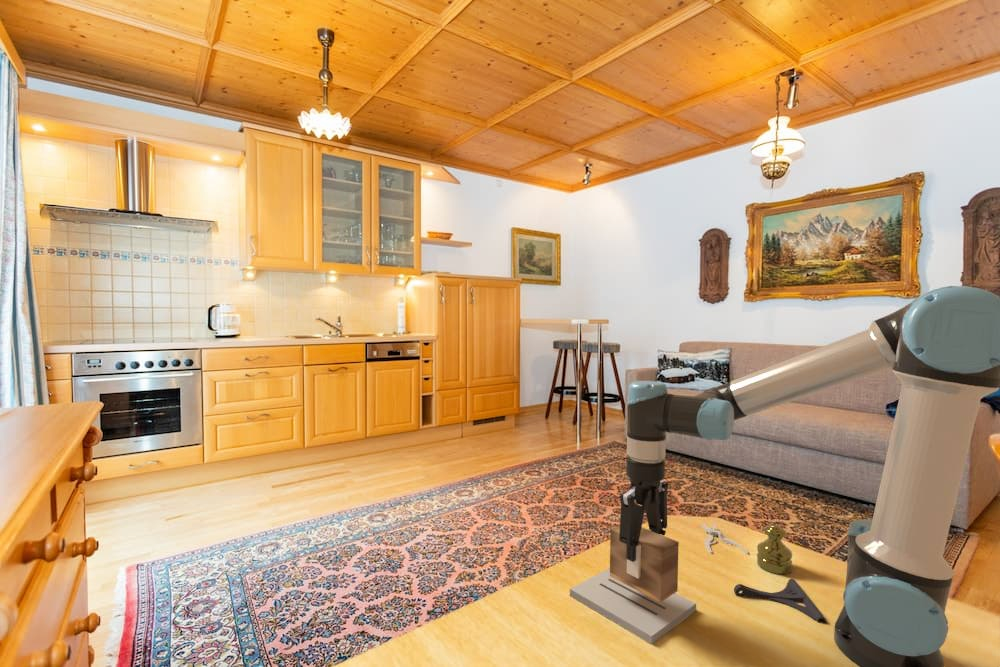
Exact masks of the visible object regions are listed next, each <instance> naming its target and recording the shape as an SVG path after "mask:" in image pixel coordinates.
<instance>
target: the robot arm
mask: <svg viewBox="0 0 1000 667" xmlns="http://www.w3.org/2000/svg"><path fill="white" fill-rule="evenodd" d="M888 370H892V373H893V375H895V376H896V378H897V379H898V380H899V381H900V383H901V388H900V394H899V398H898V402H897V406H896V411H895V415H894V421H893V426H892V428H891V429H892V430H891V434H890V439H889V443H888V448H887V453H886V456H885V460H884V466H883V470H882V476H881V480H880V485H879V490H878V493H877V498H876V502H875V507H874V510H873V511H874V512H873V516H872V519H864V518H863V519H862V518H861V519H854V520H852V521H850V522H849V526H848V531H847V532H846V534H847V537H848V538H847V539H848V541H847V542H848V544H847V545H848V546H847V562H846V563H847V565H846V575H845V577H846V578H845V586H844V591H843V593H842V594H843V595H842V597H843V598H842V601H843V606H842V609H841V611H840V613H839V614H838V617H837V619H836V621H835V624H834V630H833V631H834V632H833V634H834V635H833V638H834V642H835V644H836V646H837V647H838V649H839V650H840V651H841V652H842V653H843V655H844V656H846V657H847V658H848V659H850V660H851V661H852V662H853V663H855V664H857V665H859V667H944V666H945V665H944V664H945V663H944V659H943V655H942V652H941V650H940V649H941V648H942V646H943V645H944V644H945V642H946V639H947V636H948V632H949V625H948V624H949V622H948V618H947V615H946V606H947V604H948V599H949V595H950V591H951V586H952V583H953V578H954V573H955V572H954V570H953V568H952V567H951V565H950V564H949V563H948V561H947V560H946V559H945V558H944V552H945V550H946V549H945V548H946V543H947V539H948V536H949V531H950V528H951V522H952V521H953V520H952V519H953V516H954V515H953V514H954V511H955V507H956V502H957V498H958V495H959V490H960V485H961V482H962V477H963V474H964V469H965V466H966V463H967V462H966V461H967V457H968V453H969V449H970V444H971V439H972V437H973V432H974V427H975V423H976V420H977V415H978V411H979V408H980V403H981V399H982V400H983V398H984V397H986V396H989V395H991V394H992V393H995V392H997V391H999V390H1000V295H997V294H996V293H993V292H992V291H989V290H985V289H983V288H981V287H973V286H968V285H954V286H953V285H949V286H944V287H939V288H936V289H931V291H928V292H926V293H924V294H923V295H920V296H919V297H917V298H916V299H914V300H913V301H912V302H910V303H908V304H906V305H905V306H903V307H902V308H900V309H897V310H895V311H894V312H892V313H890V314H887V315H885V316H883V317H881V318H877V319H876V320H873V321H872V322H871V323H870V325H869V327H868V329H865V330H863V331H861V332H857V333H855V334H851V335H849V336H847V337H844V338H841V339H838V340H836V341H834V342H831V343H829V344H826V345H823V346H820V347H818V348H815V349H812V350H810V351H807V352H805V353H802V354H799V355H796V356H794V357H791V358H789V359H786V360H784V361H781V362H779V363H775V364H773V365H771V366H768V367H766V368H765V367H764V368H763V369H760V370H757V371H755V372H754V371H753V372H752V373H749V374H747V375H745V376H742V377H739V378H738V377H737V378H736V379H734V380H731V381H729V382H726V383H724V384H721V385H718V386H713V387H711V388H708V389H705V390H704V391H703V392H700V393H698V394H697V395H694V396H691V395H682V394H681V395H680V394H672V393H668V390H667V389H668V387H667V385H666V384H665V383H664V382H660V381H655V380H636V381H633V382H631V383H630V384H629V386H628V389H627V390H628V391H627V402H626V405H627V411H626V413H627V416H626V420H627V425H626V426H627V431H626V435H627V436H626V438H627V439H626V455H627V457H626V458H625V459H626V465H625V469H626V470H625V474H626V476H627V477H628V478H629V479H630V484H629V489H628V491H627V492H620V494H619V499H620V505H621V506H620V516H619V517H620V518H619V520H620V521H619V525H620V533H619V541H620V542H622V543H625V544H626V545H627V550H626V558H627V573H628V574H630V575H632V576H634V577H636V578H640V568H641V545H639V544H638V542H639V537H640V532H641V527H642V528H643V526H642V525H643V521H644V516H645V512H646V517H647V523H648V530H650V531H652V532H655V533H657V534H660V535H662V536H665V535H666V534H667V532H666V530H664V529H667V528H668V488H669V482H667V481H666V480H665V481H664V479H665V477H666V476H665V475H666V461H665V460H664V459H665V458H666V441H667V440H666V436H667V435H666V433H669V434H677V435H683V436H688V437H693V438H701V439H705V440H707V441H711V440H713V441H714V440H715V441H726V440H727V441H728V440H729V439H730V438H731V436H732V433H733V430H734V426H735V425H734V424H735V423H734V422H735V421H737V420H739V419H743V418H746V417H748V416H750V415H754V414H757V413H761V412H763V411H766V410H769V409H772V408H775V407H778V406H781V405H785V404H788V403H790V402H791V403H792V402H794V401H796V400H800V399H802V398H807V397H809V396H812V395H815V394H818V393H821V392H824V391H827V390H830V389H833V388H834V389H835V388H836V387H840V386H842V385H846V384H849V383H852V382H855V381H857V380H861V379H864V378H867V377H870V376H873V375H874V376H875V375H876V374H879V373H882V372H886V371H888ZM633 538H634V539H633Z"/></svg>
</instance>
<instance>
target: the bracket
mask: <svg viewBox="0 0 1000 667" xmlns="http://www.w3.org/2000/svg"><path fill="white" fill-rule="evenodd" d="M733 592H734V594H735V596H736V597H742V598H751V599H754V598H755V599H763V600H770V601H774V602H777V603H780V604H783V605H786V606H789V607H790V608H793V609H795V610H797V611H799V612H800V613H802V614H804V615H806V616H807V617H808V618H810V619H811V620H812V621H816V622H817V623H820V620H821V621H822V620H823V621H822V622H823V623H824V624H827V619H826V617H825V616H824V614H822V613H821V612H820V610H819V609H818V607H817V606H816V604H814V603H813V601H812V600H811V598H809V596H808V595H807V594H806V592H805V591H804V590H803V589H802V588H801V586H800V585H799V583H798V582H797V581H796V579H794V578H790V579H788V581H787V583H786V586H785V588H783V589H782V590H779V591H776V592H768V591H763V590H758V589H755V588H753V587H750V586H746V585H744V584H742V583H739V584H736V585H735V586H734V588H733ZM799 603H801V604H799ZM802 604H804V605H802Z"/></svg>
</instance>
